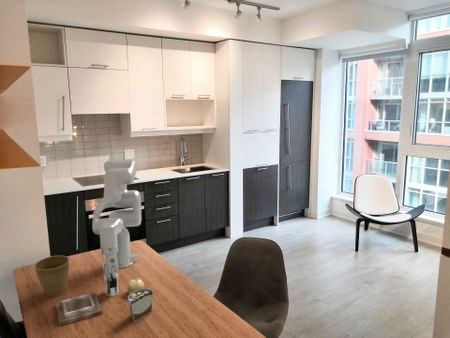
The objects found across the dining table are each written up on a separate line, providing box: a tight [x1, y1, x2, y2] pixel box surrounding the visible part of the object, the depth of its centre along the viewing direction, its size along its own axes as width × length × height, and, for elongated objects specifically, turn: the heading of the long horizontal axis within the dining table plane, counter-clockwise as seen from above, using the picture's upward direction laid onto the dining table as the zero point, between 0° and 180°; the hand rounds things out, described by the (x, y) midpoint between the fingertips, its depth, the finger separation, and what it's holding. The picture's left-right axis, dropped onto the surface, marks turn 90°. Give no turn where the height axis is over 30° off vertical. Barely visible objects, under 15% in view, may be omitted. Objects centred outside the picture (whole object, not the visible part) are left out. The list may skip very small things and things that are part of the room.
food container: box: [127, 288, 155, 323], centre depth 147 cm, size 12×6×10 cm, turn 141°
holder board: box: [55, 292, 103, 327], centre depth 151 cm, size 17×17×3 cm
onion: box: [126, 276, 145, 294], centre depth 165 cm, size 8×8×7 cm
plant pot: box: [33, 255, 70, 298], centre depth 164 cm, size 15×15×16 cm
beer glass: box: [102, 262, 120, 297], centre depth 164 cm, size 7×7×15 cm
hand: (111, 283), depth 164 cm, fingers closed on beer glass, 6 cm apart
